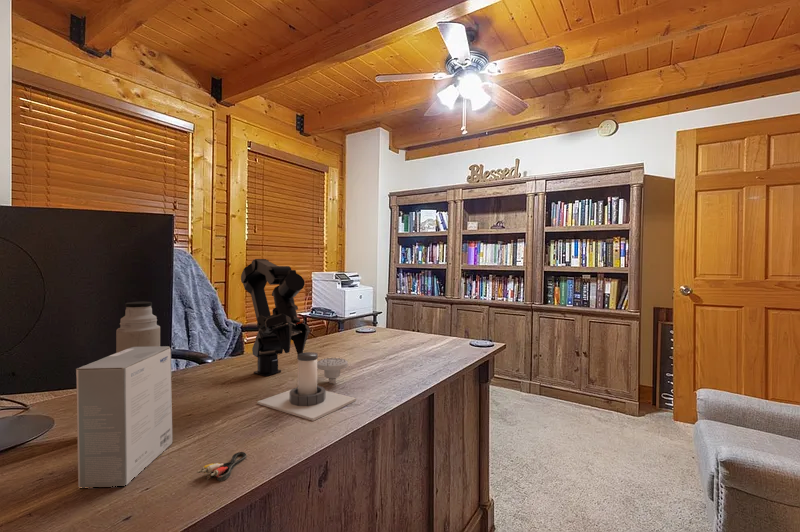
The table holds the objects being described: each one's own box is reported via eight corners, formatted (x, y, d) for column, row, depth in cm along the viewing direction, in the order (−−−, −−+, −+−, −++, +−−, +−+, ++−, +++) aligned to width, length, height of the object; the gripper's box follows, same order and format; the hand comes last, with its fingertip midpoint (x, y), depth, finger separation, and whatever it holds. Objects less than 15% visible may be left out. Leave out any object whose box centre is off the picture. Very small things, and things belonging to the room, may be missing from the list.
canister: (294, 403, 99) (294, 356, 99) (300, 396, 104) (300, 352, 104) (314, 403, 99) (314, 356, 99) (319, 396, 104) (319, 352, 104)
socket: (257, 403, 100) (257, 392, 100) (303, 387, 114) (303, 377, 114) (313, 421, 89) (313, 408, 89) (356, 400, 103) (356, 389, 103)
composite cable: (239, 455, 74) (239, 442, 74) (259, 460, 72) (259, 447, 72) (194, 482, 65) (194, 467, 65) (215, 488, 63) (215, 473, 63)
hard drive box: (133, 445, 77) (133, 346, 77) (173, 443, 78) (173, 345, 78) (75, 490, 62) (75, 366, 62) (125, 488, 62) (125, 366, 62)
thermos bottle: (142, 419, 90) (143, 299, 90) (168, 424, 87) (168, 301, 87) (107, 433, 82) (107, 302, 82) (134, 439, 80) (134, 304, 79)
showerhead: (311, 362, 114) (322, 354, 124) (311, 387, 114) (321, 377, 124) (343, 363, 113) (350, 355, 123) (343, 388, 113) (350, 378, 123)
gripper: (273, 318, 125) (282, 365, 120) (243, 305, 108) (251, 360, 102) (306, 307, 125) (315, 354, 119) (280, 293, 107) (290, 347, 102)
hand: (294, 354), depth 111 cm, fingers open, 9 cm apart
